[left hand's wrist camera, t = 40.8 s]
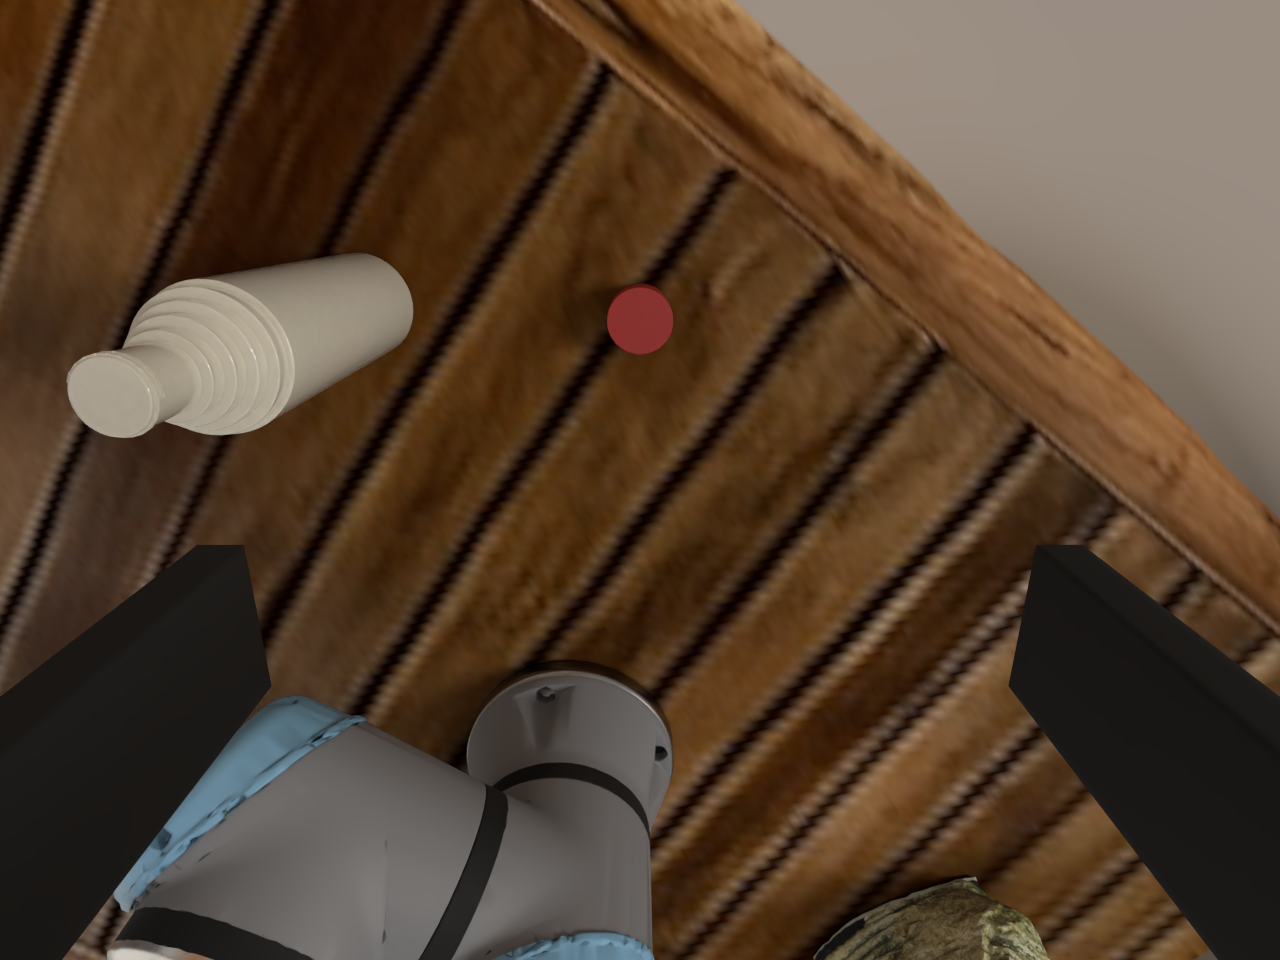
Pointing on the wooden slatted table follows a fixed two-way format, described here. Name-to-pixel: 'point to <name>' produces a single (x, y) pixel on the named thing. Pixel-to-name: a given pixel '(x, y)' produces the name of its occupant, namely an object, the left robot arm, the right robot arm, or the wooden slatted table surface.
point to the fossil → (938, 929)
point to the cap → (640, 319)
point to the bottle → (243, 346)
